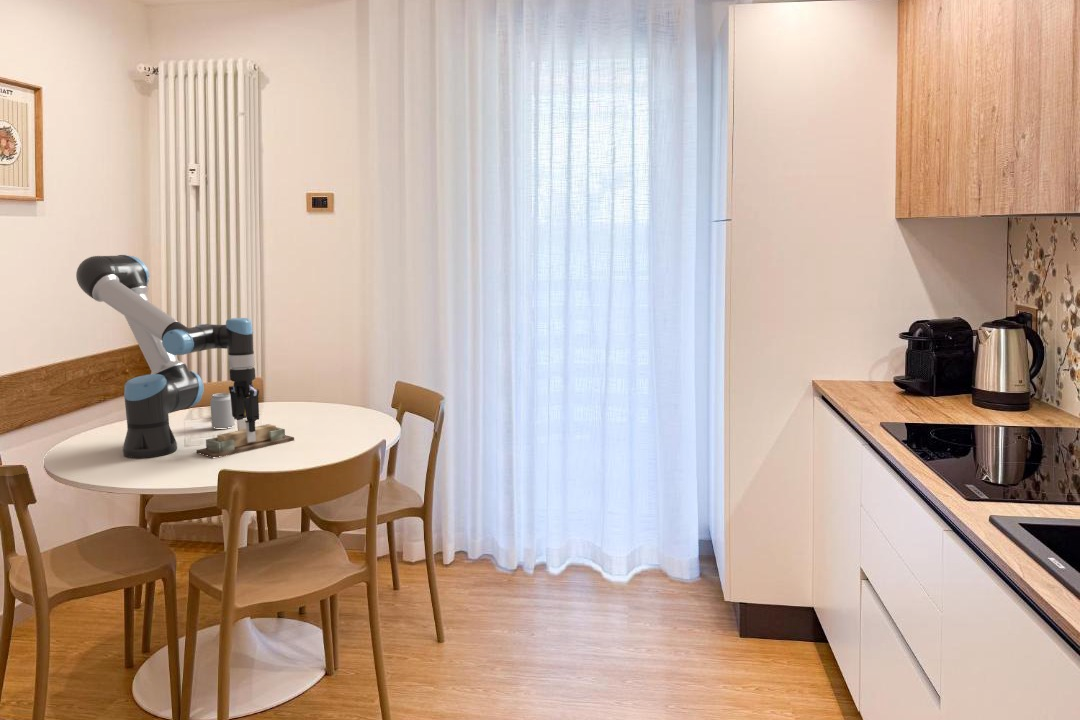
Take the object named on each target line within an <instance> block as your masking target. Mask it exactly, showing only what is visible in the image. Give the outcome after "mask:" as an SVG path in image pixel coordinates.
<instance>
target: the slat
mask: <svg viewBox="0 0 1080 720" xmlns="http://www.w3.org/2000/svg"><path fill="white" fill-rule="evenodd" d="M276 427H277V426H276V425H275V424H270V423H268V424H266V423H265V424H262V425H257V426H255V435H256V441H254V442H249V443H248V442H247V436H246V429H243V430H239V431H238V430H235V431H230V432H225V433H222V434H217V435H216V437H217V439H218V442H222V441H227V440H234V447H239V446H243V445H247V444H251V443H256V442H260V441H264V440H268V439H270V434H269V432H270V431H275V430H276Z"/></svg>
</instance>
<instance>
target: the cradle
mask: <svg viewBox="0 0 1080 720" xmlns="http://www.w3.org/2000/svg"><path fill="white" fill-rule="evenodd" d="M269 434H270V439H268V440H264V441H260V442H256V443H251V444H247V445H243V446H239V447H234V440H227V441H222V442H218V439H217V436H215V437H211V438H208V439H207V438H206V439H205V448H199V449H196V453H197V452H198V453H201V454H204V455H203V456H205V455H208V456H211V457H218V458H220V457H219V456H222V457H225V456H226V455H227V456H230V455H236V454H240V453H244V452H249V451H252V450H257V449H262V448H267V447H270V446H274V445H278V444H284V443H288V442H292V441H295V437H294V436H290V435H286V429H285V428H282V427H281V428H280V427H277V426H276V430H275V431H270V432H269ZM198 453H197V454H198ZM235 453H236V454H235ZM201 454H200V455H201ZM208 456H207V457H208ZM211 457H210V458H211Z"/></svg>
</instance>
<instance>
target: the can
mask: <svg viewBox="0 0 1080 720" xmlns="http://www.w3.org/2000/svg"><path fill="white" fill-rule="evenodd" d="M209 401H210V402H209V404H210V405H209V406H210V416H211V427H212V428H213V427H215V428H228V427H232V426H233V427H234V426H235V418H234V417H233V416H232V407H231V396H230V392H221V393H220V392H219V393H214V394H212V395H211V397H210V400H209ZM233 427H232V428H233Z"/></svg>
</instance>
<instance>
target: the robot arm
mask: <svg viewBox="0 0 1080 720" xmlns="http://www.w3.org/2000/svg"><path fill="white" fill-rule="evenodd" d="M75 273H76V276H75V277H76V282H77V285H78V286H79V287H80V289H81V290H82V291H83V293H85V294H86V295H87V296H89V297H90V298H91V299H93V300H94V301H96V302H98V303H99V302H100V303H101V302H103V303H105V304H106V305H108V306H109V307H111V308H112V309H113V310H116V311H117V312H118V313H120V314H121V315H123V316H124V318H125V320H126V322H127V324H128V326H129V329H130V330H131V332H132V334H133V337H134V339H135V340H136V342H137V345H138V346H139V348H140V350H141V352H142V353H141V354H143V357H144V359H145V360H146V363H147V364H148V367H149V369H150V371H151V372H150V373H149V374H144V375H140V376H135V377H133V378H131V379H128V380H127V381H126V382H125V384H124V386H123V387H124V393H123V398H124V405H125V406H124V407H125V415H126V425H127V427H126V428H127V430H126V435H125V438H124V442H123V445H122V454H123V456H124V457H126V458H132V459H133V458H135V459H142V458H143V459H144V458H145V459H146V458H154V457H159V456H165V455H168V454H172V453H175V452H176V451H177V450H178V443H177V439H176V437H175V435H174V433H173V431H172V429H171V425H170V420H169V419H170V418H169V414H171V413H175V412H179V411H182V410H187V409H190V408H191V407H194V406H195V405H197V404H198V403H199V402H200V401H201V400H202V397H203V394H204V390H205V388H204V383H203V380H202V378H201V376H200V375H199V374H198V373H196V372H194V371H191V370H189V368H188V367H187V365H186V363H185V362H183V361H180V360H178V357H177V356H178V355H179V356H183V355H187V354H192V353H193V354H194V353H196V352H202V351H203V352H204V351H206V350H213V349H214V350H215V349H216V350H217V349H225V350H226V349H227V354H228V355H227V357H228V367H229V368H230V369H229V380H230V381H231V382H233V385H231V386H228V391H229V393H230V396H231V407H232V416H233V417H235V418H234V419H235V420H236V424H237V431H239V430H243V429H246V436H247V442H248V443H249V442H254V441H256V435H255V427H256V421H258V420H260V409H259V408H260V407H259V394H260V389H258V388H254V384H253V381H254V380H256V369H255V354H254V337H253V336H254V330H253V323H252V320H251V319H250V318H247V317H233V318H228V319H226V321H225V324H209V323H205V324H203V323H202V324H196V325H195V326H193V327H188V326H186V325H184V324H183V323H181V322H179V320H176V319H175V318H174V317H172V316H170V315H169V314H168V313H166V312H165V311H163V310H162V309H160V308H159V307H158V306H156V305H154V304H153V303H152V302H150V300H149V298H148V296H147V295H148V294H147V293H148V291H149V286H148V284H149V282H150V279H149V278H150V272H149V269H148V267H147V265H146V264H145V263H144V262H143V261H142V260H141V259H140V258H139V257H137V256H134V255H127V254H117V255H93V256H90V257H87V258H86V259H84V260H83V261H81V262H80V264H78V267H77V268H76V272H75ZM235 412H236V413H235ZM245 412H246V416H245Z"/></svg>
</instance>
